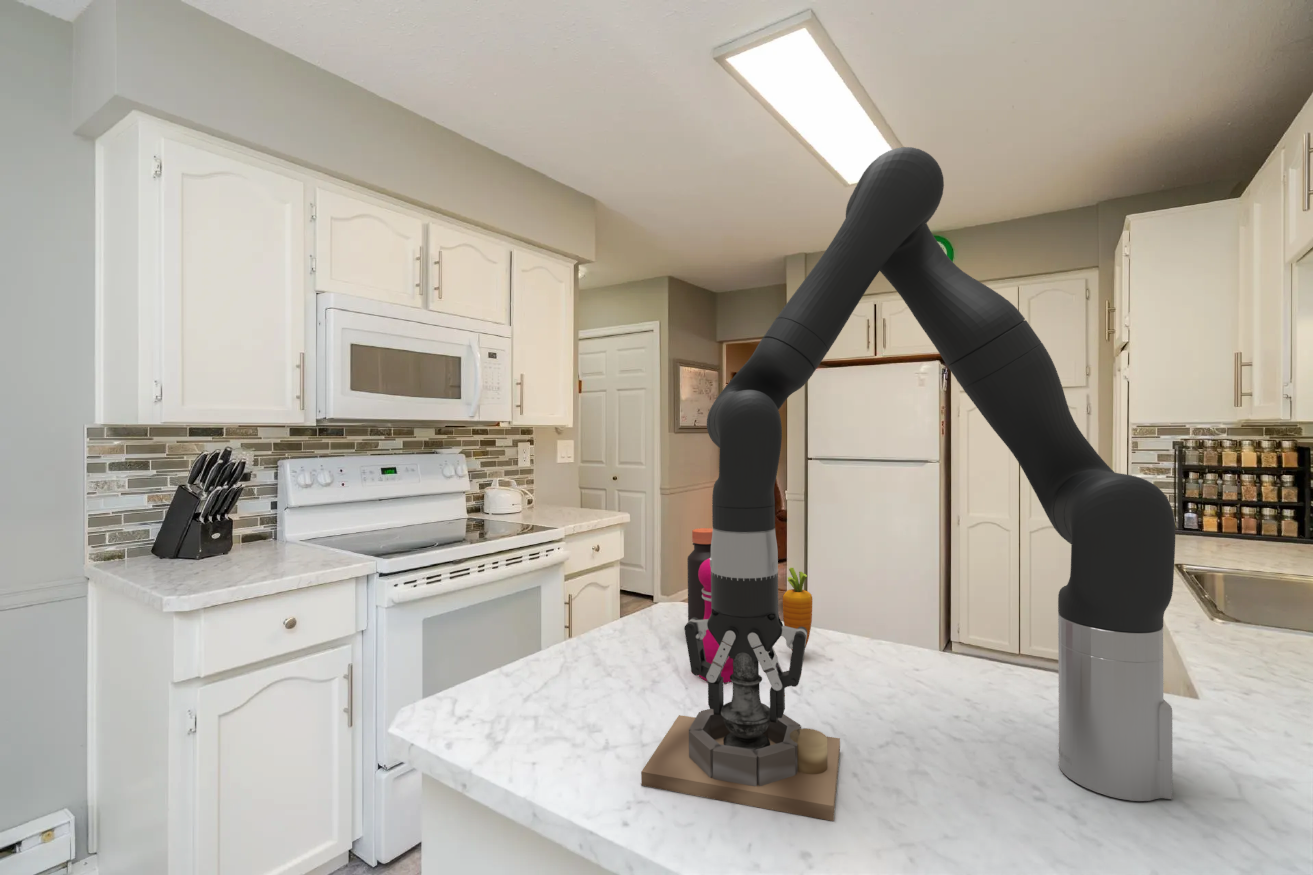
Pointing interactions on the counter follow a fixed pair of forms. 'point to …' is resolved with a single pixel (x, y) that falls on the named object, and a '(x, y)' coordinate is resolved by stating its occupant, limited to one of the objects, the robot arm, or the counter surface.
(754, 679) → the salt shaker
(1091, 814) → the counter surface
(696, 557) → the bottle
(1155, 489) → the robot arm
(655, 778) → the board
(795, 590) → the carrot
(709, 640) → the pepper mill
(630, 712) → the counter surface
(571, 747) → the counter surface
